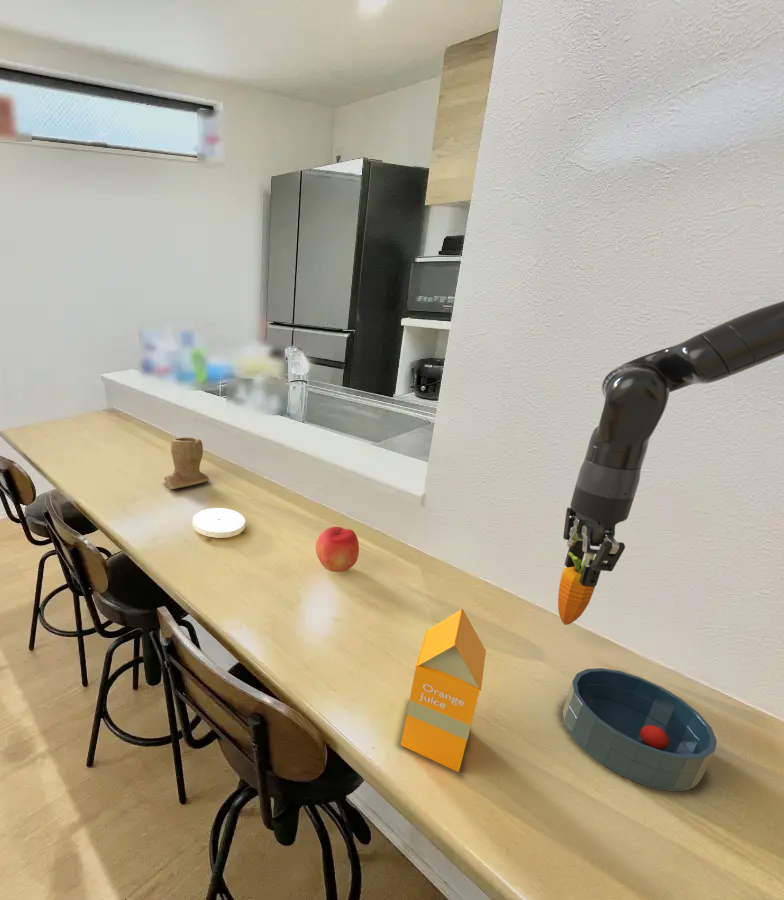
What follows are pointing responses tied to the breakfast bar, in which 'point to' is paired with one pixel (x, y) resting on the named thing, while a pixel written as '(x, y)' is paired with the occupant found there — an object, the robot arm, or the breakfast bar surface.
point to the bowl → (638, 729)
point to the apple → (337, 548)
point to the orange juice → (445, 691)
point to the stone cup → (186, 463)
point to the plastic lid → (218, 522)
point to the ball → (654, 737)
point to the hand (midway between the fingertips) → (579, 575)
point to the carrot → (573, 592)
